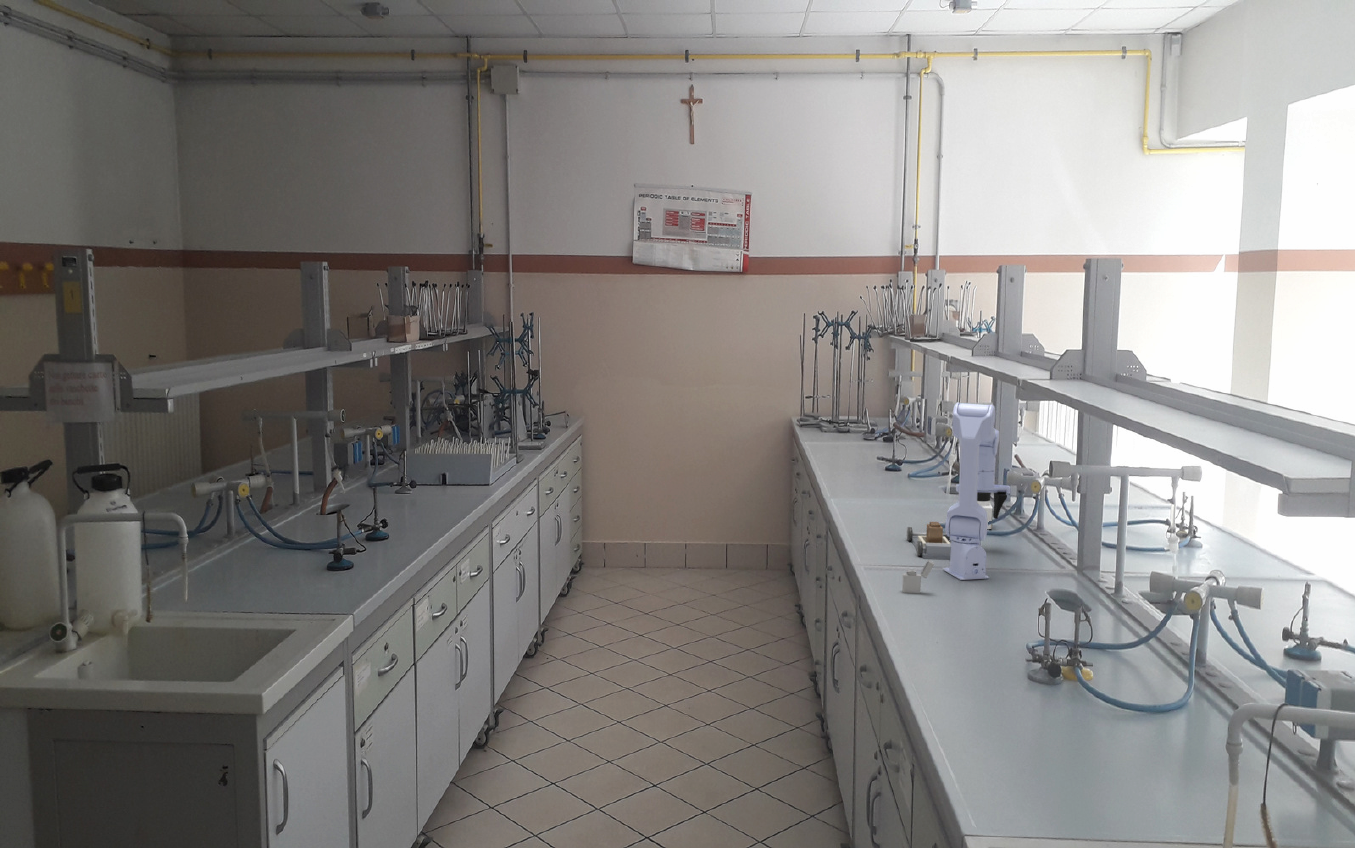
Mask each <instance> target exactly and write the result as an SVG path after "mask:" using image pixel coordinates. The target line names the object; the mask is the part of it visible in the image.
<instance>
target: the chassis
mask: <svg viewBox="0 0 1355 848" xmlns="http://www.w3.org/2000/svg"><path fill="white" fill-rule="evenodd" d="M926 533H927V532H915V531H914V532H913V527H912V526H911V527H910V526H908V527H906V540H907V542H911V543H912V545H913V546H914V547H915V549H916V556H917V557H918V556H919V557H921V558H922V560H924V559H925V560H927V559H928V560H950V553H951V541H950V542H949V539H950V537H948V536H947V535H946V532H945V531H944V532H943V537H942V543H926Z"/></svg>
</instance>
